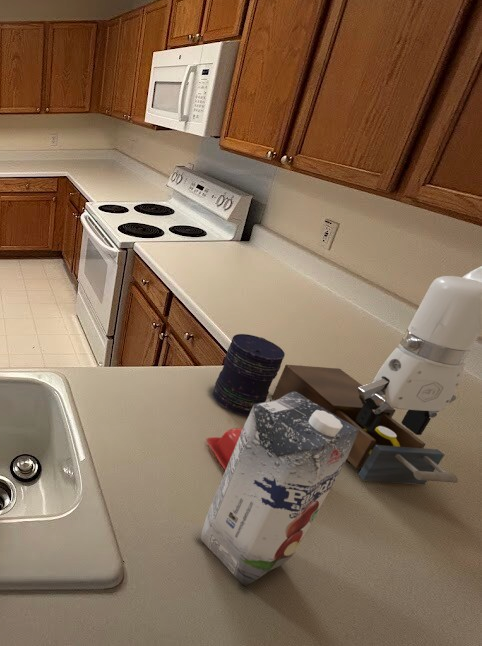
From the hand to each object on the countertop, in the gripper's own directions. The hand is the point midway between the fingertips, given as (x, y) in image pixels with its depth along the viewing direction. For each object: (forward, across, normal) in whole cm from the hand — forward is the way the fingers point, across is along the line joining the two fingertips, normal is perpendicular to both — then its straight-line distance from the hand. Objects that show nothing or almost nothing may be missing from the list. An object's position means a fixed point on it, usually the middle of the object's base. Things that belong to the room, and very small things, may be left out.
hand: (387, 427), depth 76 cm
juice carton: (+9, -37, -19) cm, 42 cm away
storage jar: (+9, -17, +16) cm, 25 cm away
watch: (+7, 0, 0) cm, 7 cm away
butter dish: (+9, -26, -3) cm, 27 cm away
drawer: (+8, 0, -1) cm, 8 cm away
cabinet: (+9, 0, +12) cm, 15 cm away
